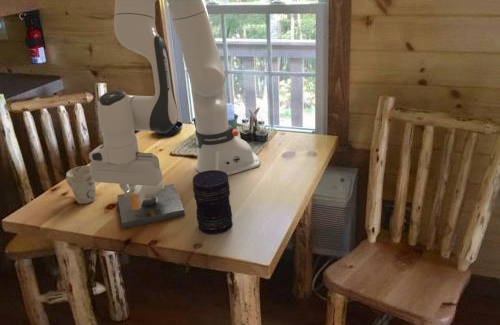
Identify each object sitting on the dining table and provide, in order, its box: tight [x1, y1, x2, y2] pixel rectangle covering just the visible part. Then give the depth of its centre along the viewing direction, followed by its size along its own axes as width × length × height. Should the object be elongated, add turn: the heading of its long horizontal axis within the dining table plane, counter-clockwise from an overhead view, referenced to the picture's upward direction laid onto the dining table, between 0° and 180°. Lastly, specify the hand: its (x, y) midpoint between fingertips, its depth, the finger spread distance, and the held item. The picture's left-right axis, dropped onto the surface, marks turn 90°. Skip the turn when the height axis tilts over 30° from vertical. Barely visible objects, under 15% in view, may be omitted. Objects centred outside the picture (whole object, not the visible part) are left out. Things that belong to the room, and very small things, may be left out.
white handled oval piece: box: [128, 177, 165, 210], centre depth 145 cm, size 18×10×5 cm, turn 177°
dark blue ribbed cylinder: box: [192, 170, 233, 236], centre depth 138 cm, size 10×10×15 cm
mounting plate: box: [116, 183, 186, 229], centre depth 151 cm, size 18×18×6 cm
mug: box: [65, 165, 97, 205], centre depth 159 cm, size 8×13×10 cm, turn 58°
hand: (130, 196), depth 141 cm, fingers closed
